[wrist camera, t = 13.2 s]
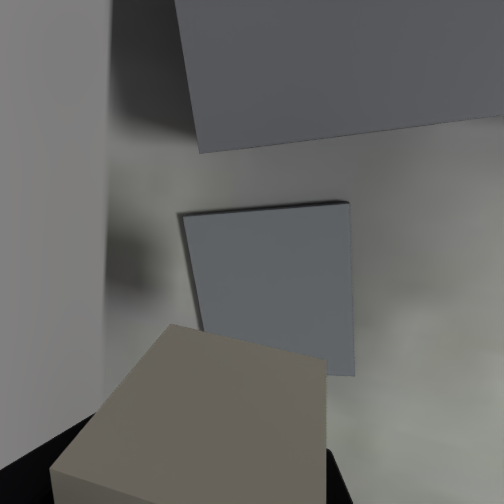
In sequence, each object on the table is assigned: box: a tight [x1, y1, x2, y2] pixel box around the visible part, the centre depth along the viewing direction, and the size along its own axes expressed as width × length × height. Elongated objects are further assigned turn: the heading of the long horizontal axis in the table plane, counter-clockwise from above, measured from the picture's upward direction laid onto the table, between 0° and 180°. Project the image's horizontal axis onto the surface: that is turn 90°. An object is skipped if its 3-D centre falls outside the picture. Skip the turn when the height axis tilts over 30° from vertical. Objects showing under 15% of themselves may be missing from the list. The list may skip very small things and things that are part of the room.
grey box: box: [175, 0, 504, 154], centre depth 9 cm, size 7×7×5 cm
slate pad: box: [183, 202, 355, 376], centre depth 15 cm, size 8×7×1 cm
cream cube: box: [49, 324, 326, 504], centre depth 7 cm, size 4×4×4 cm
